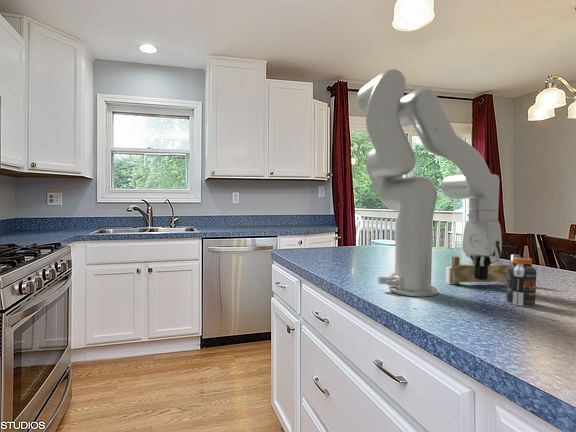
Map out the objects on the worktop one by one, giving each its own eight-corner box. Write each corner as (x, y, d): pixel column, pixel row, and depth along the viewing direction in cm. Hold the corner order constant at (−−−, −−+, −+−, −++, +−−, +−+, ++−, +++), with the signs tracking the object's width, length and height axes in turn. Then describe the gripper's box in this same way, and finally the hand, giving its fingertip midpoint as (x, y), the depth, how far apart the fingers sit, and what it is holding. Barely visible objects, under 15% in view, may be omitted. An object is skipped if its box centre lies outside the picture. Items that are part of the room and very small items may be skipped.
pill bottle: (526, 308, 82) (527, 260, 82) (500, 302, 87) (502, 256, 87) (540, 305, 85) (541, 258, 84) (515, 299, 90) (516, 255, 90)
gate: (506, 282, 108) (507, 256, 108) (510, 283, 106) (511, 256, 106) (451, 282, 106) (452, 256, 106) (454, 284, 105) (454, 257, 104)
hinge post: (513, 286, 105) (514, 256, 104) (501, 282, 110) (501, 253, 109) (528, 285, 105) (529, 256, 105) (515, 282, 110) (516, 253, 110)
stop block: (449, 284, 106) (449, 267, 106) (445, 282, 108) (445, 266, 108) (458, 284, 107) (458, 267, 107) (454, 282, 109) (454, 266, 109)
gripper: (453, 215, 108) (451, 274, 109) (495, 217, 94) (493, 285, 95) (472, 215, 111) (470, 273, 111) (516, 217, 96) (514, 284, 97)
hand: (481, 279), depth 103 cm, fingers closed
